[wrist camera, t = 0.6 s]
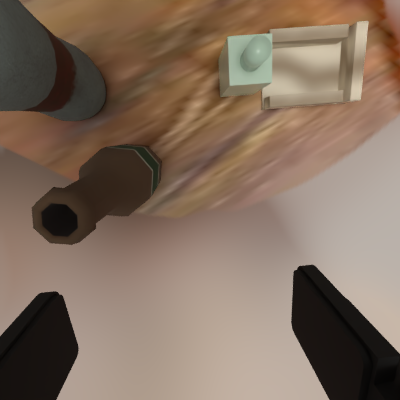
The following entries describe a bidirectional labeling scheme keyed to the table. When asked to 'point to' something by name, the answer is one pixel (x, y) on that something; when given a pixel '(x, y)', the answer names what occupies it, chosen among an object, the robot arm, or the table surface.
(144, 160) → the beer bottle
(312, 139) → the table surface
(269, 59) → the bottle
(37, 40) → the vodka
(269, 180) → the table surface
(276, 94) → the cradle
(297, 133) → the table surface
